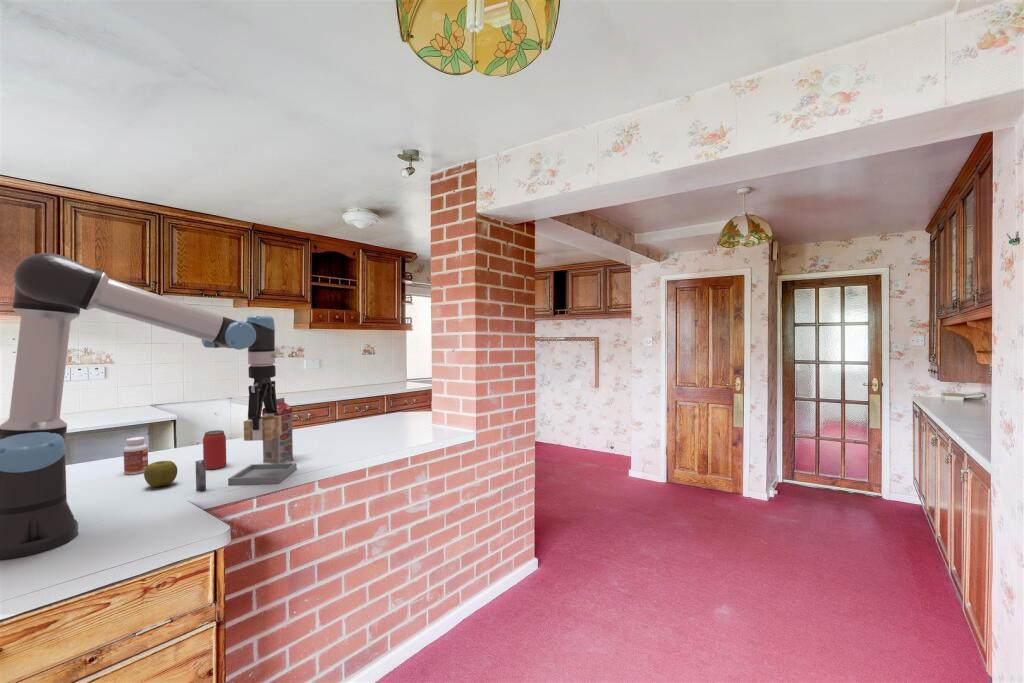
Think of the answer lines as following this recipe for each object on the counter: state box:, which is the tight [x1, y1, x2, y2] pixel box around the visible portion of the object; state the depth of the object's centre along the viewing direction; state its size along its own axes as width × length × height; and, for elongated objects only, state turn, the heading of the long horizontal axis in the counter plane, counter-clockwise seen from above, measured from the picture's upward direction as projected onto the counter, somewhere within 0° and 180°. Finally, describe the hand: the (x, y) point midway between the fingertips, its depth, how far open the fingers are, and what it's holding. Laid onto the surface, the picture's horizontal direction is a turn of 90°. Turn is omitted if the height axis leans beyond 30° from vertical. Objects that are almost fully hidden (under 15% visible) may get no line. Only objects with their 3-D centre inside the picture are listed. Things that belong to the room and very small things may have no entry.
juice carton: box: [261, 397, 294, 464], centre depth 166 cm, size 7×7×22 cm
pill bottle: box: [123, 436, 149, 475], centre depth 154 cm, size 6×6×11 cm
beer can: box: [202, 429, 227, 471], centre depth 159 cm, size 7×7×12 cm
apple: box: [143, 460, 178, 488], centre depth 140 cm, size 8×8×7 cm
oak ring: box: [243, 415, 282, 442], centre depth 148 cm, size 8×8×6 cm
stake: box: [195, 459, 207, 492], centre depth 136 cm, size 2×2×8 cm
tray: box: [227, 462, 298, 486], centre depth 149 cm, size 15×15×2 cm
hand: (263, 436), depth 148 cm, fingers closed on oak ring, 8 cm apart
